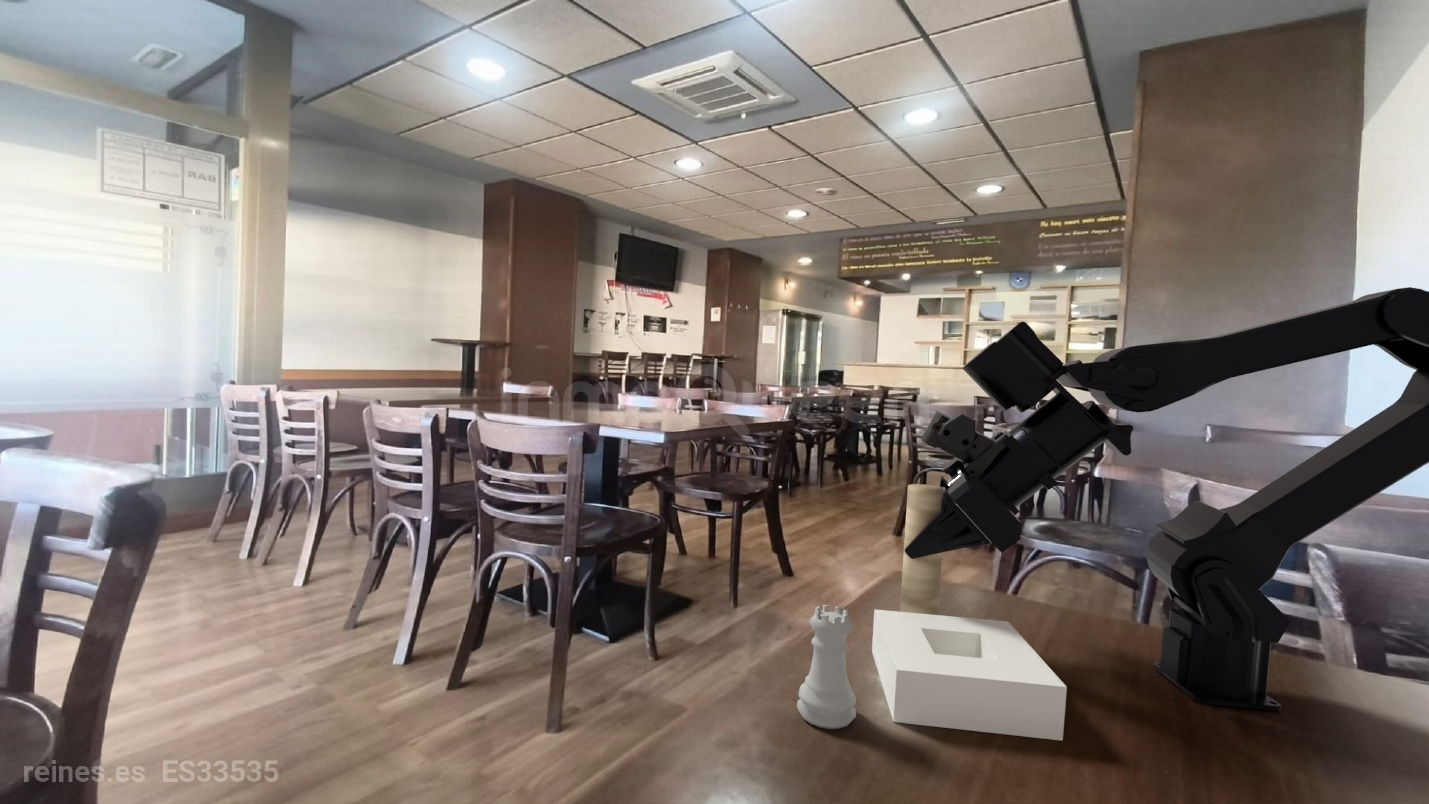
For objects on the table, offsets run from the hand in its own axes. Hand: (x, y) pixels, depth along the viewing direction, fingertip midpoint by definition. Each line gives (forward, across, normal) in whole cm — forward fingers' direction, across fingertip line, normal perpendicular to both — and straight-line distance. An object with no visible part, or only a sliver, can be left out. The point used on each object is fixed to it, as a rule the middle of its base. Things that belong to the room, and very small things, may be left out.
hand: (908, 549), depth 62 cm
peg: (+4, 0, +6) cm, 7 cm away
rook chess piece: (+10, +18, +3) cm, 21 cm away
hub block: (+3, +10, +9) cm, 14 cm away
